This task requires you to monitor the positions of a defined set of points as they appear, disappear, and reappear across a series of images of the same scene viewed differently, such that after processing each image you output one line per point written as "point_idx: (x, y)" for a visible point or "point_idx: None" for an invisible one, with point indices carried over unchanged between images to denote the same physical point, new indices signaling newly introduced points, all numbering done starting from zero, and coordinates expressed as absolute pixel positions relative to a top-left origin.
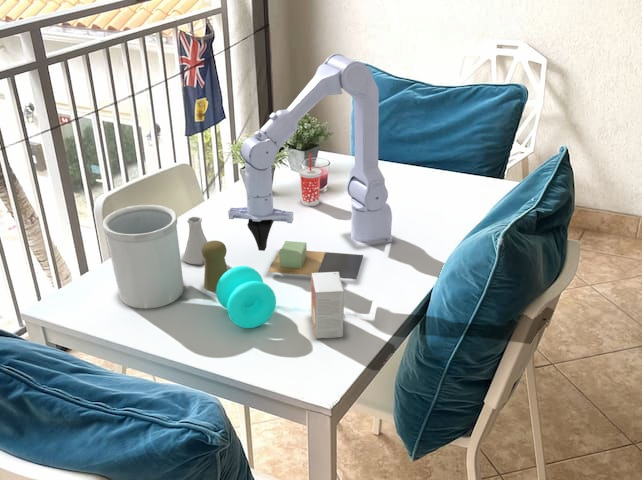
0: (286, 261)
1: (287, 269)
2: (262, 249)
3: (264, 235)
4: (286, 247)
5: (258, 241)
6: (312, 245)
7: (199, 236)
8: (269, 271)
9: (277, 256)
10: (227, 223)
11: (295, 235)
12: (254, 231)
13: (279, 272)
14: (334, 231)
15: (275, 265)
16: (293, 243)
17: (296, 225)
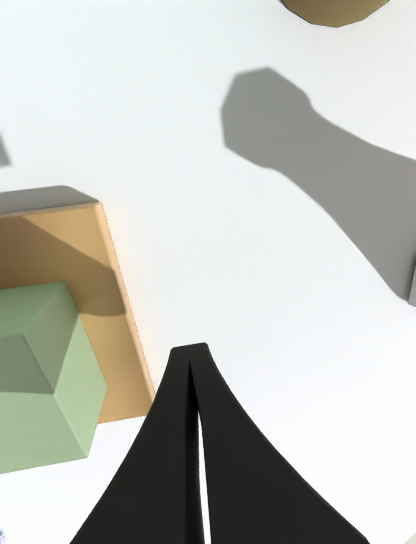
0: (4, 305)
1: (3, 265)
2: (180, 350)
3: (141, 462)
4: (28, 407)
5: (206, 389)
6: (70, 466)
7: None
8: (89, 211)
9: (134, 361)
10: (380, 471)
11: None
12: (256, 488)
13: (25, 218)
14: (57, 535)
15: (96, 286)
16: (21, 453)
17: None
